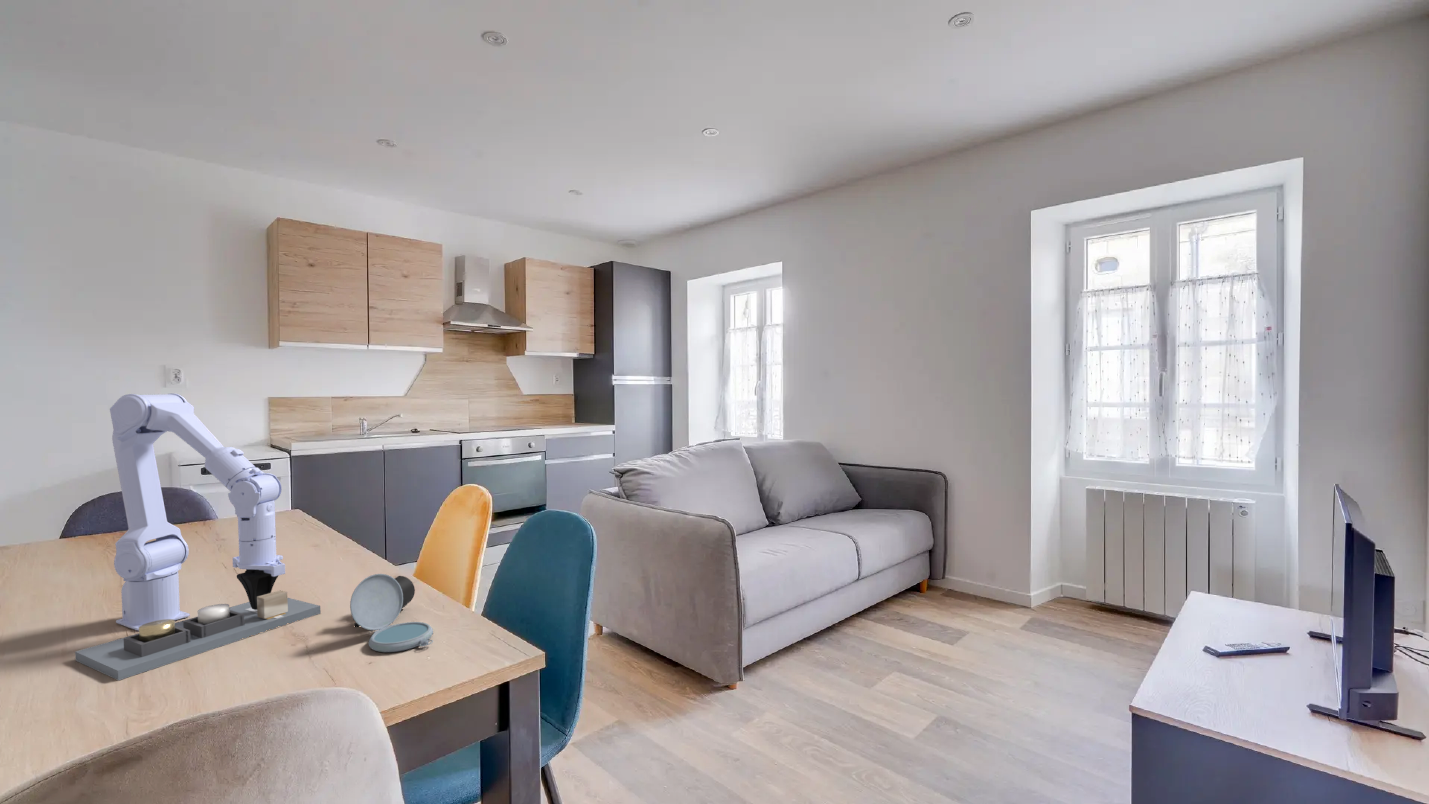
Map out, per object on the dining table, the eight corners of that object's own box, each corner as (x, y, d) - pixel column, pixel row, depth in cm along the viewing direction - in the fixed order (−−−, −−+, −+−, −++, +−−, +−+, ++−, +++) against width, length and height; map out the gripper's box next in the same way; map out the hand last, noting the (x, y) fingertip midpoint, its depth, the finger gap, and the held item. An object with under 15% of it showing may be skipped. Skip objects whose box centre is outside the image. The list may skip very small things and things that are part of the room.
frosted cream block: (257, 616, 113) (256, 596, 113) (280, 609, 116) (280, 590, 116) (264, 618, 112) (263, 598, 112) (287, 611, 115) (287, 591, 115)
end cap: (389, 628, 111) (388, 591, 111) (351, 628, 111) (350, 592, 111) (415, 608, 121) (414, 575, 121) (380, 608, 121) (379, 575, 121)
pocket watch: (397, 566, 113) (452, 577, 106) (399, 624, 113) (454, 638, 106) (343, 582, 104) (400, 595, 97) (345, 645, 104) (402, 662, 97)
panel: (75, 660, 99) (74, 639, 99) (275, 601, 126) (274, 584, 126) (118, 680, 92) (117, 657, 92) (320, 613, 119) (319, 595, 119)
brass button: (134, 638, 100) (133, 626, 100) (167, 628, 104) (167, 617, 104) (146, 643, 98) (146, 631, 98) (180, 633, 102) (179, 621, 102)
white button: (193, 621, 107) (192, 610, 107) (222, 613, 111) (221, 602, 111) (205, 625, 105) (205, 614, 105) (234, 616, 109) (234, 605, 109)
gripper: (301, 536, 116) (303, 606, 116) (260, 529, 122) (262, 595, 123) (260, 545, 110) (262, 619, 110) (219, 537, 116) (221, 607, 116)
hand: (259, 607), depth 116 cm, fingers closed
